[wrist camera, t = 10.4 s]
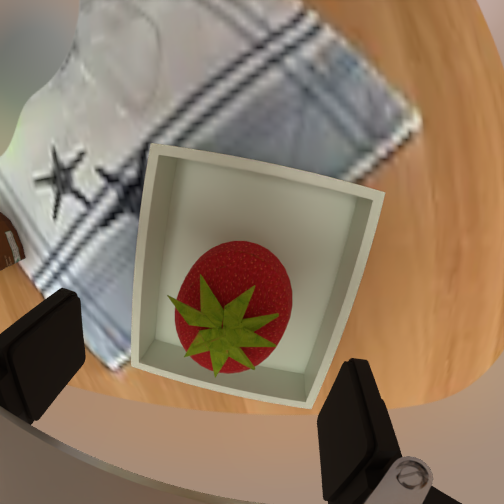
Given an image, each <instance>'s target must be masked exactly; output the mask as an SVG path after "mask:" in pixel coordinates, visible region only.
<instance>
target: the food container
mask: <svg viewBox="0 0 504 504" xmlns="http://www.w3.org/2000/svg"><path fill="white" fill-rule="evenodd" d="M24 258H25V254H24V250H23V246H22V243H21V241H20V238H19V236H18V233H17V231H16V229H15V228H14V226H13V225H12V223H11V221H10V220H9V219H8V218H7V217H6V216H5V215H4V214H3V213H1V212H0V270H2V269H4V268H6V267H8V266H10V265H12V264H14V263H16V262H18V261H20V260H22V259H24Z"/></svg>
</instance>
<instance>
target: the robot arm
mask: <svg viewBox="0 0 504 504" xmlns="http://www.w3.org/2000/svg"><path fill="white" fill-rule="evenodd" d="M85 357H86V356H85V347H84V338H83V328H82V316H81V302H80V298H79V297H78V296H77V293H76V292H74V291H71V290H68V289H65V288H61V289H59V290H58V291H56V292H55V293H54V294H52V295H51V296H49V297H48V298H47V299H45V300H44V301H43V302H41V303H40V304H39V305H37V306H36V307H35V308H33V309H32V310H31V311H29V312H28V313H27V314H25V315H24V316H23V317H21V318H20V319H19V320H17V321H16V322H15V323H14V324H12V325H11V326H10V327H9V328H7V329H6V330H5V331H3V332H2V333H1V334H0V504H264V503H256V502H249V501H242V500H236V499H230V498H225V497H220V496H214V495H210V494H205V493H201V492H197V491H192V490H189V489H184V488H181V487H177V486H174V485H170V484H166V483H163V482H159V481H156V480H153V479H150V478H147V477H144V476H141V475H138V474H135V473H132V472H130V471H127V470H124V469H122V468H119V467H116V466H114V465H111V464H109V463H106V462H104V461H101V460H99V459H97V458H94V457H92V456H90V455H88V454H85V453H83V452H81V451H79V450H77V449H75V448H73V447H70V446H68V445H66V444H64V443H63V442H61V441H59V440H57V439H55V438H53V437H51V436H49V435H47V434H45V433H44V432H42V431H40V430H38V429H37V428H35V427H33V426H31V424H32V423H33V421H34V420H35V421H37V420H39V419H40V417H41V416H42V415H43V414H44V412H45V411H46V410H47V409H48V407H49V406H50V405H51V403H52V402H53V401H54V400H55V398H56V397H57V396H58V394H59V393H60V392H61V391H62V390H63V388H64V387H65V386H66V385H67V384H68V382H69V381H70V380H71V379H72V377H73V376H74V375H75V374H76V373H77V371H78V370H79V369H80V368H81V367H82V365H83V364H84V362H85ZM317 427H318V439H319V450H320V462H321V474H322V489H323V499H324V500H325V501H328V504H462V503H460V502H458V501H456V500H455V499H453V498H451V497H450V496H448V495H446V494H444V493H443V492H441V491H439V490H438V489H436V488H435V487H433V486H431V485H432V481H433V474H432V472H431V469H430V468H429V466H427V464H426V463H425V462H423V461H422V460H421V459H418V458H416V457H410V456H407V457H402V454H401V451H400V448H399V445H398V441H397V438H396V436H395V432H394V429H393V426H392V423H391V420H390V417H389V414H388V411H387V408H386V405H385V403H384V401H383V400H382V399H381V396H380V393H379V390H378V388H377V385H376V382H375V379H374V376H373V374H372V371H371V368H370V365H369V363H368V361H367V360H363V359H355V358H351V359H350V360H349V361H348V362H346V361H345V362H344V363H343V364H342V367H341V369H340V371H339V373H338V375H337V378H336V380H335V382H334V384H333V386H332V388H331V390H330V393H329V395H328V397H327V399H326V401H325V403H324V405H323V407H322V409H321V411H320V413H319V415H318V419H317Z"/></svg>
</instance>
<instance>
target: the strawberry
mask: <svg viewBox="0 0 504 504" xmlns="http://www.w3.org/2000/svg"><path fill="white" fill-rule="evenodd" d="M167 296H168V298H169V299H170V300H171V302H172V303H173V305H174V306H175V326H176V331H177V334H178V337H179V340H180V342H181V344H182V346H183V348H184V349H185V351H186V354H185V356H184V357H188V356H190V357H191V358H192V359H193V360H194V361H195V362H197V363H198V364H199V365H200V366H202V367H204V368H206V369H208V370H211V371H214V376H215V378H216V376H217V374H218V373H226V374H231V373H240V372H243V371H246V370H249V369H252V370H255V366H257V365H259V364H260V363H261V362H263V361H264V360H265V359H266V358H268V357H269V355H270V354H271V353H272V352H273V351H274V350H275V348H276V347H277V345H278V343H279V342H280V340H281V338H282V336H283V334H284V332H285V330H286V328H287V325H288V322H289V320H290V316H291V311H292V305H293V302H292V288H291V283H290V279H289V276H288V274H287V272H286V269H285V267H284V266H283V265H282V263H281V262H280V260H279V259H278V258H277V257H276V256H275V255H274V254H273V253H272V252H271V251H270V250H268V249H267V248H265V247H263V246H261V245H259V244H256V243H252V242H248V241H230V242H226V243H222V244H220V245H217V246H215V247H213V248H211V249H210V250H208V251H207V252H206V253H204V254H203V255H202V256H200V258H199V259H198V260H197V261H196V262H195V263H194V265H193V266H192V267H191V269H190V271H189V272H188V274H187V275H186V277H185V279H184V281H183V283H182V285H181V288H180V290H179V293H178V296H177V299H175V298H173V297H171V296H169V295H167Z"/></svg>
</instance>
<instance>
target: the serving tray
mask: <svg viewBox="0 0 504 504" xmlns="http://www.w3.org/2000/svg"><path fill="white" fill-rule="evenodd" d="M384 196H385V192H382V191H379V190H375V189H372V188H368V187H365V186H361V185H357V184H354V183H350V182H346V181H343V180H339V179H335V178H331V177H327V176H323V175H319V174H315V173H311V172H307V171H303V170H298V169H294V168H290V167H285V166H281V165H276V164H271V163H267V162H262V161H257V160H252V159H247V158H242V157H236V156H231V155H226V154H220V153H214V152H208V151H202V150H196V149H190V148H183V147H176V146H169V145H162V144H154V143H151V146H150V152H149V157H148V163H147V169H146V175H145V182H144V188H143V195H142V203H141V210H140V218H139V227H138V236H137V246H136V257H135V270H134V284H133V302H132V330H131V366H132V367H135V368H138V369H141V370H144V371H147V372H150V373H153V374H157V375H160V376H163V377H166V378H170V379H173V380H177V381H180V382H184V383H187V384H191V385H194V386H198V387H202V388H206V389H210V390H214V391H218V392H222V393H226V394H231V395H235V396H240V397H244V398H249V399H254V400H259V401H264V402H270V403H275V404H281V405H287V406H293V407H299V408H306V409H312V407H313V404H314V402H315V400H316V398H317V395H318V393H319V391H320V388H321V386H322V384H323V381H324V379H325V377H326V374H327V372H328V369H329V367H330V365H331V362H332V360H333V357H334V355H335V352H336V349H337V347H338V344H339V342H340V339H341V336H342V334H343V331H344V328H345V325H346V323H347V320H348V317H349V314H350V311H351V309H352V306H353V303H354V300H355V297H356V294H357V291H358V288H359V285H360V282H361V278H362V275H363V272H364V269H365V266H366V262H367V259H368V256H369V252H370V249H371V245H372V242H373V238H374V235H375V231H376V227H377V224H378V220H379V216H380V212H381V208H382V204H383V200H384ZM230 241H248V242H252V243H256V244H259V245H261V246H263V247H265V248H267V249H268V250H270V251H271V252H272V253H273V254H274V255H275V256H276V257H277V258H278V259H279V260H280V262H281V263H282V265H283V266H284V267H285V269H286V272H287V274H288V276H289V279H290V283H291V288H292V302H293V305H292V311H291V316H290V320H289V322H288V325H287V328H286V330H285V332H284V334H283V336H282V338H281V340H280V342H279V343H278V345H277V347H276V348H275V350H274V351H273V352H272V353H271V354H270V355H269V357H268V358H266V359H265V360H264V361H263V362H261V363H260V364H259V365H257V366H255V370H252V369H249V370H246V371H243V372H240V373H231V374H226V373H218V374H217V376H216V378H215V376H214V371H211V370H208V369H206V368H204V367H202V366H200V365H199V364H198V363H197V362H195V361H194V360H193V359H192V358H191V357H190V356H188V357H184V356H185V354H186V351H185V349H184V348H183V346H182V344H181V342H180V340H179V337H178V334H177V331H176V326H175V306H174V305H173V303H172V302H171V300H170V299H169V298H168V296H167V295H169V296H171V297H173V298H175V299H177V296H178V293H179V290H180V288H181V285H182V283H183V281H184V279H185V277H186V275H187V274H188V272H189V271H190V269H191V267H192V266H193V265H194V263H195V262H196V261H197V260H198V259H199V258H200V256H202V255H203V254H204V253H206V252H207V251H208V250H210V249H211V248H213V247H215V246H217V245H220V244H222V243H226V242H230Z"/></svg>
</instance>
